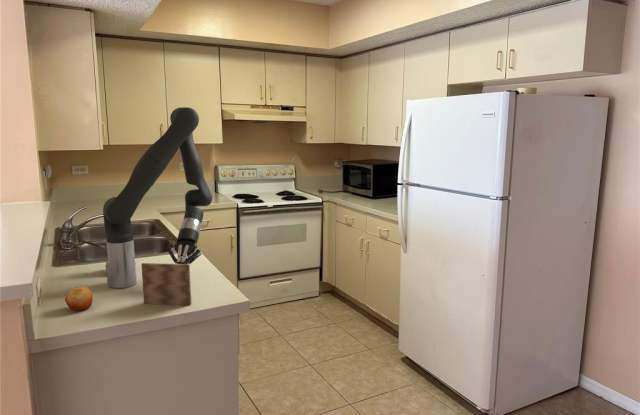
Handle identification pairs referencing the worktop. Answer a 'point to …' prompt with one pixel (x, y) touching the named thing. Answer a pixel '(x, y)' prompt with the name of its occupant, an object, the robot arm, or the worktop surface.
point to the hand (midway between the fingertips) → (178, 272)
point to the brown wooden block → (166, 283)
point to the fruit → (79, 298)
